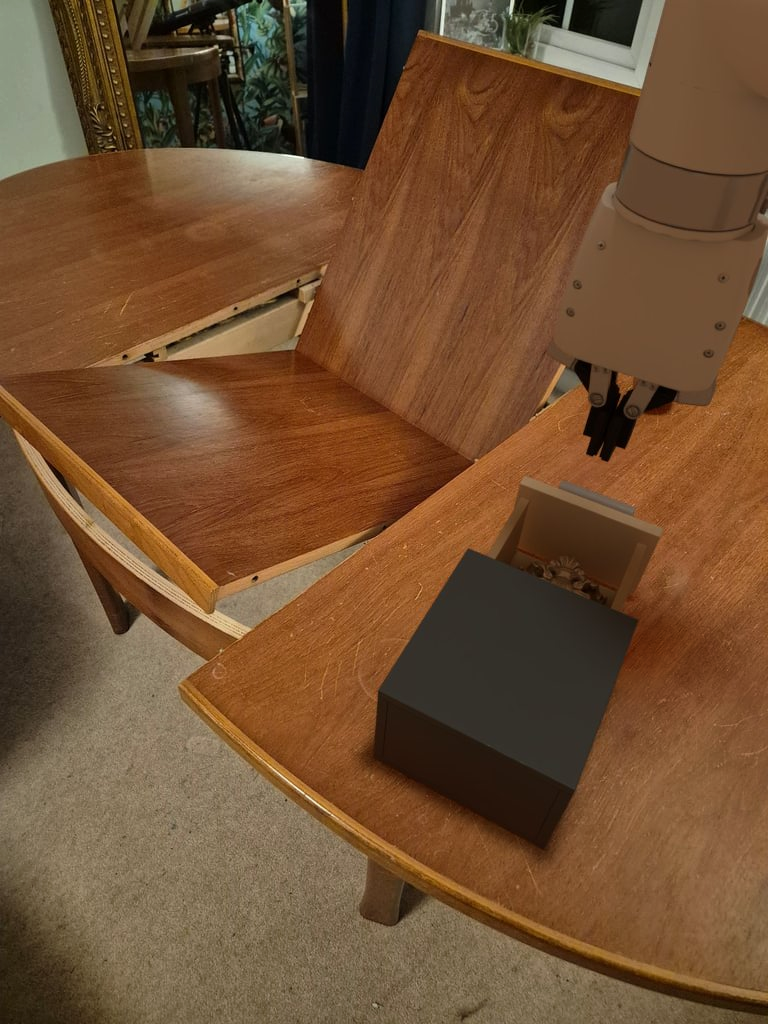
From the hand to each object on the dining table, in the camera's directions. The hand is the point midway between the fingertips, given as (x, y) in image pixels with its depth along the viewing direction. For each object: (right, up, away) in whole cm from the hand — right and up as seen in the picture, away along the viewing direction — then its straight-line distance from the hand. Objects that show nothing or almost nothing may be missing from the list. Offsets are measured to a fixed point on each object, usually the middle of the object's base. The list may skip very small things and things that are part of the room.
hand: (602, 447), depth 52 cm
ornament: (0, -12, +12) cm, 17 cm away
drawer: (0, -12, +14) cm, 18 cm away
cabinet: (-7, -21, +6) cm, 23 cm away
